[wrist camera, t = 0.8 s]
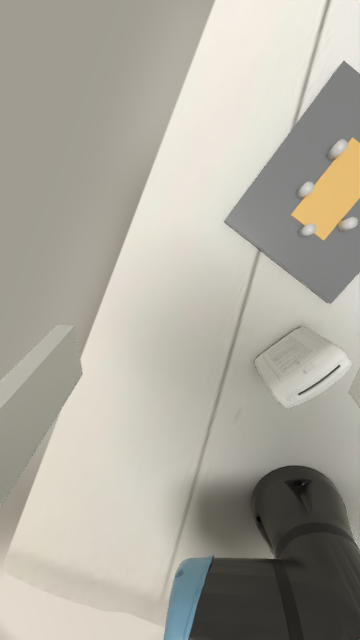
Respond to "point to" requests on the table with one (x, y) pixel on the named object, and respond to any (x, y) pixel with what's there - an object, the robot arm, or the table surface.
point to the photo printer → (301, 367)
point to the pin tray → (312, 193)
